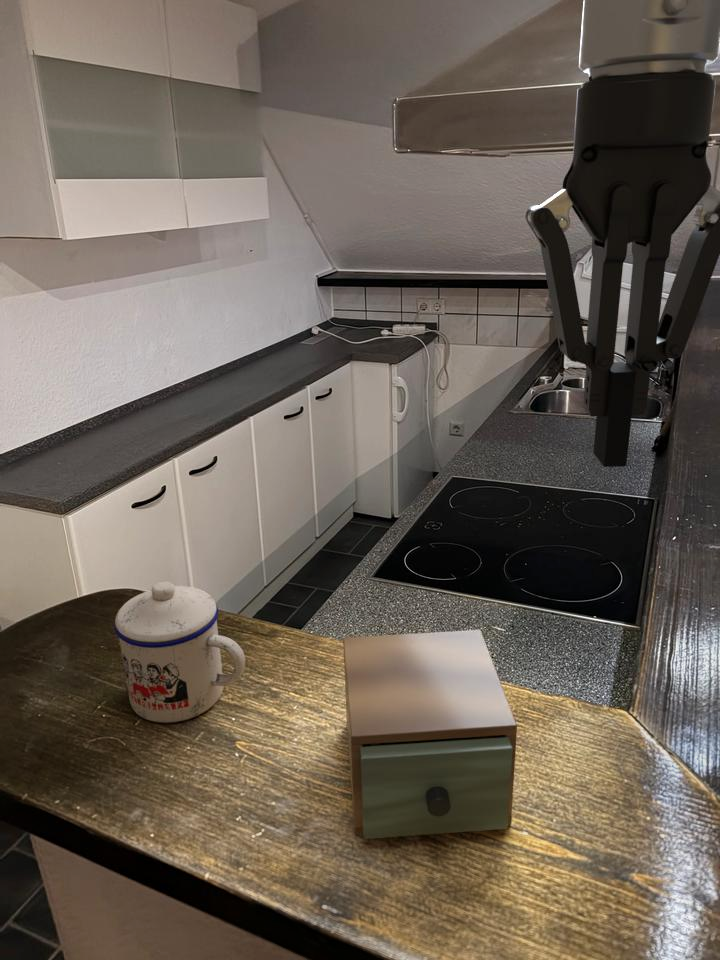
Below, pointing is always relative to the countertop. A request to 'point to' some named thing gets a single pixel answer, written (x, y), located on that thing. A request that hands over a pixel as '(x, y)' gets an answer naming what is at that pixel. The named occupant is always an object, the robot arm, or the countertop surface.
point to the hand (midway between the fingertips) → (609, 459)
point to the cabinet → (421, 695)
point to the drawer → (435, 786)
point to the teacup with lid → (174, 652)
